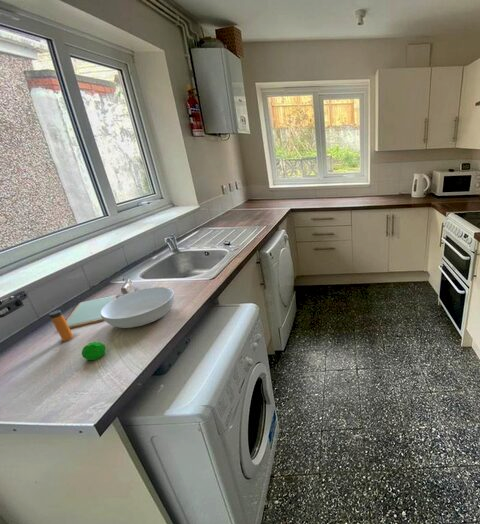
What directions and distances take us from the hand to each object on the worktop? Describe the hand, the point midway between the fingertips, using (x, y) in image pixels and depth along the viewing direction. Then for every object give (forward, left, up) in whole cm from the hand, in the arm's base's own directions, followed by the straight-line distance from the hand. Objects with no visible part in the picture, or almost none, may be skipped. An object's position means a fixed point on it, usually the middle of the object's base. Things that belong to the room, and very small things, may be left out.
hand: (5, 295), depth 75 cm
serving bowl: (+24, +9, -21) cm, 33 cm away
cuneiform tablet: (+16, +34, -21) cm, 43 cm away
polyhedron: (+15, -9, -21) cm, 27 cm away
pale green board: (+6, +24, -20) cm, 32 cm away
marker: (+4, +7, -20) cm, 22 cm away
